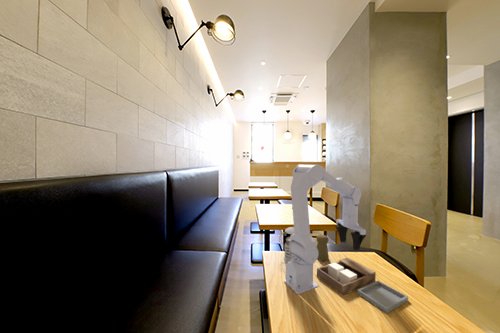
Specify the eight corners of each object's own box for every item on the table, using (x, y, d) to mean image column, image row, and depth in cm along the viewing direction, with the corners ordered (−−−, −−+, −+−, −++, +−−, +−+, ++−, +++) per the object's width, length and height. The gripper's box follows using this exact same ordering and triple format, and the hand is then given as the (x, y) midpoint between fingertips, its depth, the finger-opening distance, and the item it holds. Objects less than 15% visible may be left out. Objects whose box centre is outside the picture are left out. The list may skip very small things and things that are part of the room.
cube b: (349, 288, 63) (349, 277, 63) (339, 282, 67) (339, 271, 67) (356, 285, 65) (356, 274, 65) (346, 279, 69) (346, 268, 69)
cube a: (336, 280, 68) (336, 269, 68) (327, 274, 72) (328, 264, 72) (343, 277, 70) (343, 267, 70) (334, 272, 73) (335, 262, 73)
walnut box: (343, 296, 60) (343, 284, 60) (316, 276, 71) (316, 267, 71) (375, 281, 68) (375, 271, 68) (347, 266, 79) (347, 257, 78)
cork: (331, 262, 82) (331, 238, 81) (317, 262, 82) (318, 238, 82) (325, 255, 88) (326, 233, 88) (313, 255, 88) (313, 233, 88)
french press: (301, 269, 76) (302, 210, 76) (275, 261, 82) (276, 206, 82) (306, 259, 84) (307, 205, 84) (283, 252, 90) (284, 202, 90)
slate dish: (387, 314, 53) (387, 308, 53) (357, 294, 61) (357, 289, 61) (408, 301, 58) (408, 296, 58) (378, 285, 66) (378, 280, 66)
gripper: (372, 218, 71) (371, 252, 71) (345, 209, 85) (345, 238, 85) (357, 219, 69) (356, 254, 69) (332, 210, 84) (331, 239, 84)
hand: (349, 245), depth 77 cm, fingers open, 7 cm apart
